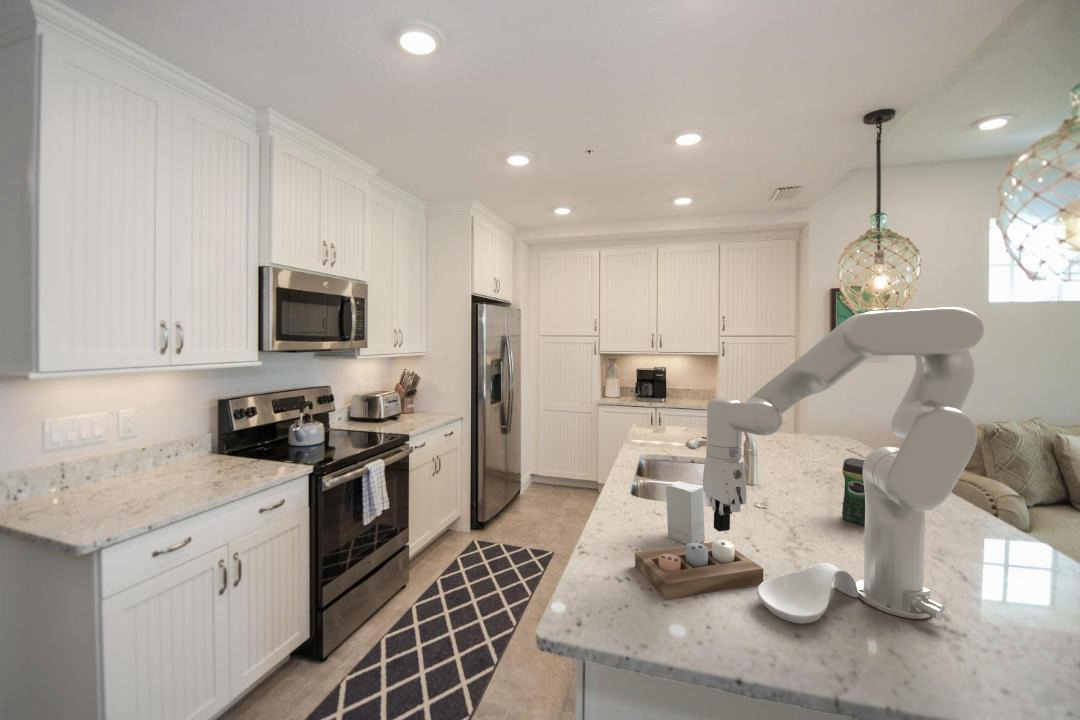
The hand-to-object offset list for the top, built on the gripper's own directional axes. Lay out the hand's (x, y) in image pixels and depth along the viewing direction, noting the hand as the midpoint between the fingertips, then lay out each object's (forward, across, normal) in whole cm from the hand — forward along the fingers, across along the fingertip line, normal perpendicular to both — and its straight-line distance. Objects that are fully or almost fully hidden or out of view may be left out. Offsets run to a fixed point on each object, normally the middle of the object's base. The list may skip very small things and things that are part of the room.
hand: (721, 529), depth 100 cm
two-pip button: (+8, 0, +7) cm, 10 cm away
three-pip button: (+10, 0, +14) cm, 17 cm away
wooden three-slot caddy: (+10, 0, +7) cm, 12 cm away
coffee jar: (+10, +14, -59) cm, 62 cm away
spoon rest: (+10, -16, -9) cm, 21 cm away
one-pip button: (+8, 0, 0) cm, 8 cm away
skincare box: (+10, +17, -1) cm, 20 cm away
